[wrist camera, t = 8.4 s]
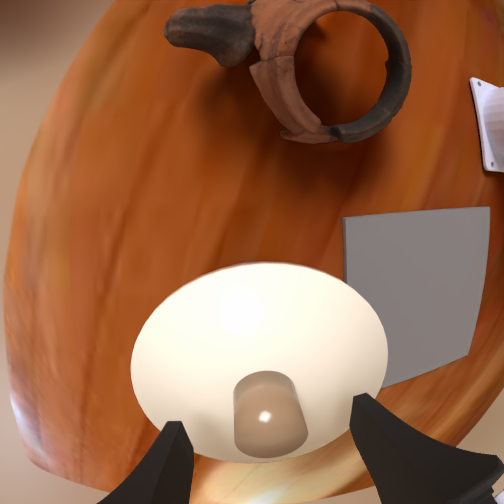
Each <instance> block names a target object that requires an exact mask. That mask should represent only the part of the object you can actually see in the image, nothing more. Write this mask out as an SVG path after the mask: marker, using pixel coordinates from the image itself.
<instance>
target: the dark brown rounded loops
mask: <svg viewBox="0 0 504 504" xmlns="http://www.w3.org/2000/svg"><path fill="white" fill-rule="evenodd" d="M334 11H349V12H353V13H355V14H358V15H360V16H363V17H365V18H366V19H368V20H369V21H370V22H371V23H372V24H373V25H374V26H375V27H376V28H377V29H378V31H379V32H380V34H381V36H382V37H383V39H384V41H385V43H386V46H387V49H388V54H389V58H388V60H387V61H385V66H386V69H387V76H386V83H385V85H384V88H383V90H382V93H381V95H380V97H379V99H378V102H377V103H376V104H375V106H374V107H372V109H371V110H370V111H369V112H368V113H367V114H366V115H364V116H363V117H362V118H360V119H358V120H357V121H354V122H351V123H347V124H340V125H334V126H331V127H328V126H323V125H321V120H320V119H319V118H318V117H317V116H316V115H314V114H313V113H312V112H311V110H310V109H309V108H308V107H307V106H306V104H305V103H304V102H303V100H302V98H301V95H300V93H299V90H298V87H297V84H296V79H295V69H294V53H295V51H296V49H297V45H298V42H299V40H300V39H301V37H302V35H303V33H304V32H305V30H306V29H307V28H308V27H309V26H310V25H311V24H312V23H313V22H314V21H315V20H316V19H318V18H319V17H321V16H322V15H325V14H327V13H330V12H334ZM164 36H165V38H166V39H167V40H168V41H169V42H170V44H172V45H173V46H176V47H184V48H190V49H196V50H200V51H204V52H206V53H209V54H210V55H212V56H213V57H214V58H215V59H216V60H217V61H218V63H219V64H220V66H223V67H226V66H228V67H234V66H236V65H238V64H239V63H240V62H242V61H244V60H245V59H246V58H247V57H248V56H249V54H250V53H251V52H252V49H253V45H255V46H256V49H257V50H258V51H259V54H260V57H261V60H260V61H259V62H257V63H256V64H253V65H251V66H250V67H249V69H250V73H251V75H252V77H253V79H254V82H255V84H256V86H257V87H258V89H259V91H260V94H261V96H262V98H263V100H264V101H265V102H266V104H267V105H268V106H269V108H270V109H271V110H272V112H273V113H274V115H275V116H276V117H277V119H278V120H279V121H280V122H281V123H282V124H283V125H284V126H285V127H286V128H287V129H289V130H282V131H280V136H281V137H283V138H284V139H288V140H292V141H297V142H302V143H309V144H317V143H329V142H333V141H336V140H340V141H341V142H343V143H345V144H347V143H353V142H358V141H361V140H364V139H366V138H368V137H371V136H373V135H375V134H377V133H378V132H380V131H381V130H383V129H384V128H385V127H386V126H387V125H388V124H389V123H390V122H391V120H392V118H393V117H394V116H396V114H397V113H398V111H399V110H400V109H401V108H402V105H403V102H404V100H405V98H406V96H407V94H408V90H409V86H410V83H411V69H412V66H411V62H410V61H411V58H410V53H409V49H408V45H407V42H406V40H405V38H404V35H403V33H402V31H401V30H400V28H399V27H398V25H397V24H396V23H395V22H394V21H393V19H392V18H391V17H390V16H389V15H388V14H386V13H385V12H384V11H383V10H381V9H380V8H379V7H377V6H376V5H373V4H370V3H368V2H367V1H365V0H250V1H249V2H247V3H246V4H245V5H221V4H214V5H208V6H202V7H191V8H180V9H178V10H177V11H176V12H175V13H173V14H172V15H171V16H170V18H169V19H168V20H167V21H166V24H165V29H164Z"/></svg>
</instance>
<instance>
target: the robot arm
mask: <svg viewBox="0 0 504 504" xmlns="http://www.w3.org/2000/svg"><path fill="white" fill-rule="evenodd" d="M470 84H471V88H472V93H473V97H474V102H475V107H476V112H477V118H478V124H479V130H480V137H481V146H482V155H483V165H484V168H485V170H487V171H497V172H504V87H502V88H498V87H496V86H493V85H491V84H489V83H486V82H484V81H482V80H479V79H477V78H471V79H470ZM349 427H350V430H351V433H352V436H353V439H354V442H355V445H356V447H357V449H358V451H359V453H360V455H361V457H362V459H363V461H364V463H365V465H366V467H367V469H368V471H369V473H370V475H371V477H372V479H373V481H374V483H375V486H376V488H377V491H378V494H379V497H380V500H381V503H382V504H504V489H503V490H502V491H501V492H500V493H499V494H498V495H496V496H495V497H493V496H492V495H491V494H492V493H493V492H494V490H493V489H492V485H493V484H494V483H495V482H496V481H497V480H498V479H499V478H500V477H501V476H502V474H503V473H504V464H503V463H502V461H501V460H500V459H499V458H498V457H497V455H489V454H481V453H475V452H470V451H466V450H462V449H459V448H456V447H453V446H450V445H447V444H444V443H442V442H439V441H437V440H435V439H433V438H430V437H428V436H426V435H425V434H423V433H421V432H419V431H418V430H416V429H414V428H413V427H411V426H409V425H408V424H406V423H405V422H404V421H402V420H401V419H399V418H398V417H397V416H395V415H394V414H392V413H391V412H390V411H389V410H387V409H386V408H385V407H384V406H382V405H381V404H380V403H379V402H377V401H376V400H375V399H374V398H373V397H372V396H370V395H369V394H368V393H363V394H359V395H356V396H353V402H352V409H351V416H350V423H349ZM193 469H194V448H193V446H192V443H191V441H190V439H189V437H188V435H187V432H186V430H185V428H184V426H183V423H182V421H167V422H166V424H165V425H164V427H163V429H162V430H161V432H160V434H159V435H158V437H157V438H156V440H155V441H154V443H153V445H152V446H151V447H150V449H149V450H148V452H147V453H146V455H145V456H144V457H143V459H142V460H141V461H140V463H139V464H138V465H137V466H136V468H135V469H134V470H133V471H132V472H131V474H130V475H129V476H128V477H127V478H126V479H125V480H124V481H123V482H122V483H121V484H120V485H119V486H118V487H117V488H116V489H115V490H114V491H112V492H111V493H110V494H109V495H108V496H107V497H105V498H104V499H103V500H101V501H100V502H98V503H97V504H189V498H190V491H191V484H192V476H193Z"/></svg>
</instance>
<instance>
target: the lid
mask: <svg viewBox="0 0 504 504" xmlns="http://www.w3.org/2000/svg"><path fill="white" fill-rule="evenodd" d="M387 361H388V347H387V339H386V335H385V332H384V328H383V326H382V324H381V322H380V320H379V318H378V316H377V314H376V312H375V311H374V310H373V308H372V307H371V306H370V304H369V303H368V302H367V301H366V300H365V299H364V298H363V297H362V296H361V295H360V294H358V293H357V292H356V291H355V290H354V289H353V288H352V287H351V286H349V285H348V284H346V283H345V282H343V281H342V280H340V279H339V278H337V277H335V276H333V275H330V274H328V273H326V272H324V271H322V270H318V269H315V268H312V267H308V266H305V265H300V264H294V263H288V262H269V261H262V262H251V263H242V264H237V265H233V266H228V267H224V268H220V269H217V270H215V271H212V272H209V273H206V274H204V275H201V276H199V277H197V278H195V279H194V280H192V281H190V282H188V283H186V284H184V285H183V286H181V287H180V288H178V289H177V290H176V291H174V292H173V293H171V294H170V295H169V296H168V297H167V298H166V299H165V300H164V301H163V302H162V303H160V304H159V305H158V306H157V308H156V309H155V310H154V311H153V313H152V314H151V315H150V317H149V318H148V319H147V321H146V323H145V325H144V326H143V328H142V330H141V332H140V334H139V336H138V338H137V340H136V343H135V346H134V350H133V353H132V361H131V379H132V384H133V388H134V392H135V395H136V397H137V400H138V402H139V404H140V406H141V408H142V409H143V411H144V412H145V414H146V416H147V417H148V418H149V419H150V420H151V422H152V423H153V424H154V425H155V426H156V427H157V428H158V429H159V430H160V431H161V430H162V429H163V427H164V425H165V424H166V422H167V421H182V423H183V426H184V428H185V430H186V432H187V435H188V437H189V439H190V441H191V443H192V446H193V448H194V452H195V453H197V454H200V455H203V456H206V457H209V458H213V459H217V460H221V461H228V462H235V463H267V462H276V461H281V460H286V459H290V458H294V457H297V456H301V455H304V454H306V453H309V452H311V451H314V450H316V449H318V448H320V447H322V446H324V445H326V444H328V443H330V442H331V441H333V440H334V439H336V438H338V437H339V436H341V435H342V434H343V433H344V432H346V431H347V430H348V429H350V427H349V423H350V416H351V409H352V402H353V396H356V395H359V394H363V393H368V394H369V395H370V396H372V397H373V398H374V399H375V398H376V396H377V394H378V392H379V390H380V388H381V385H382V383H383V380H384V377H385V373H386V368H387Z"/></svg>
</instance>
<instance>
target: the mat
mask: <svg viewBox="0 0 504 504" xmlns="http://www.w3.org/2000/svg"><path fill="white" fill-rule="evenodd" d="M342 223H343V248H344V282H345V283H346V284H348V285H349V286H351V287H352V288H353V289H354V290H355V291H356V292H357V293H358V294H360V295H361V296H362V297H363V298H364V299H365V300H366V301H367V302H368V303H369V304H370V306H371V307H372V308H373V310H374V311H375V312H376V314H377V316H378V318H379V320H380V322H381V324H382V326H383V328H384V332H385V335H386V339H387V347H388V361H387V368H386V373H385V377H384V380H383V383H382V385H381V388H384V387H387V386H390V385H393V384H396V383H399V382H402V381H405V380H408V379H410V378H413V377H416V376H419V375H421V374H424V373H426V372H429V371H431V370H434V369H436V368H439V367H441V366H443V365H446V364H448V363H450V362H453V361H455V360H457V359H459V358H461V357H464V356H466V355H468V352H469V349H470V345H471V342H472V338H473V334H474V330H475V326H476V322H477V317H478V313H479V308H480V303H481V298H482V292H483V286H484V280H485V273H486V265H487V255H488V244H489V229H490V207H470V208H454V209H439V210H425V211H411V212H399V213H386V214H375V215H363V216H352V217H342Z"/></svg>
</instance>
